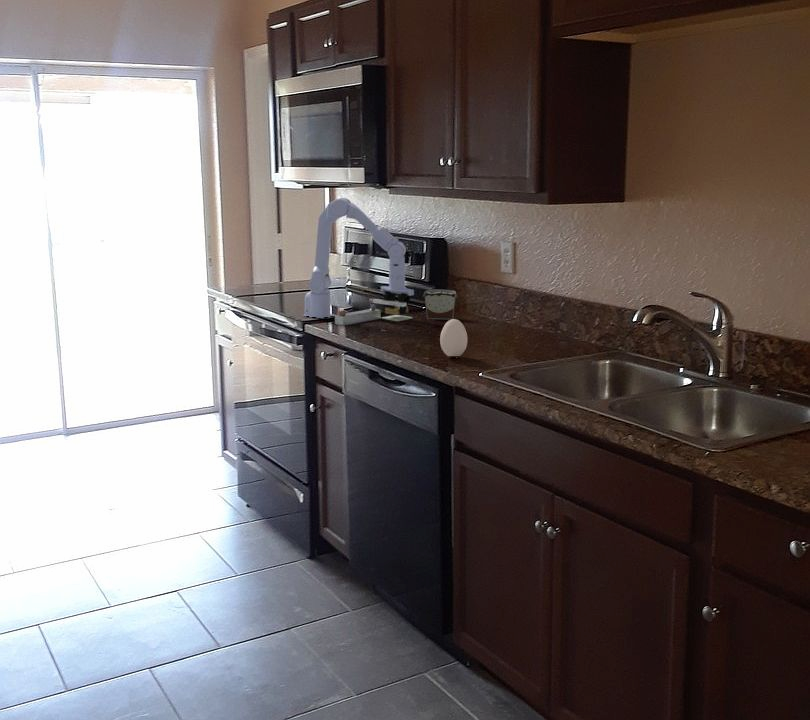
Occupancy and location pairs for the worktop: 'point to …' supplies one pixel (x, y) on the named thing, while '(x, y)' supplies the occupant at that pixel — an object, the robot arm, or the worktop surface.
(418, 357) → the worktop surface
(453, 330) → the egg
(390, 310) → the cap
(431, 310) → the food container
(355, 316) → the plane body
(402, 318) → the mat
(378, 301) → the lever
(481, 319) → the worktop surface
